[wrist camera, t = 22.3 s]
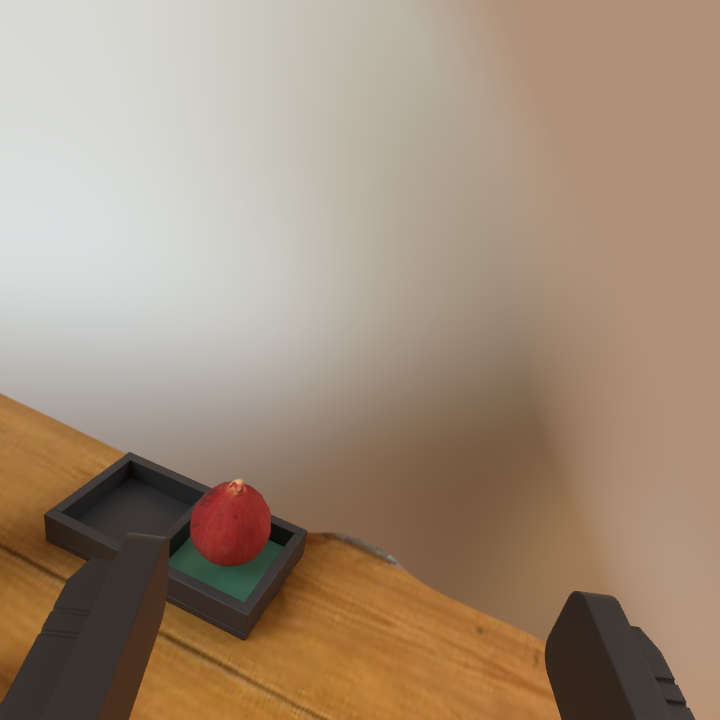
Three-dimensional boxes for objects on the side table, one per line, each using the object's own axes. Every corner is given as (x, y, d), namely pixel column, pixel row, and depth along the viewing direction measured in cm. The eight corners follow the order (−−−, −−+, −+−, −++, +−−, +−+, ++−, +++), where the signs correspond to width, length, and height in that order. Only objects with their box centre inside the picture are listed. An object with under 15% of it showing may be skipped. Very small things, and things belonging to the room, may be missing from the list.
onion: (173, 576, 43) (177, 492, 39) (209, 523, 48) (216, 445, 44) (247, 601, 42) (258, 518, 39) (276, 546, 47) (289, 468, 44)
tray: (129, 474, 52) (129, 451, 51) (303, 553, 48) (307, 530, 47) (45, 539, 45) (43, 514, 43) (244, 641, 40) (247, 615, 39)
